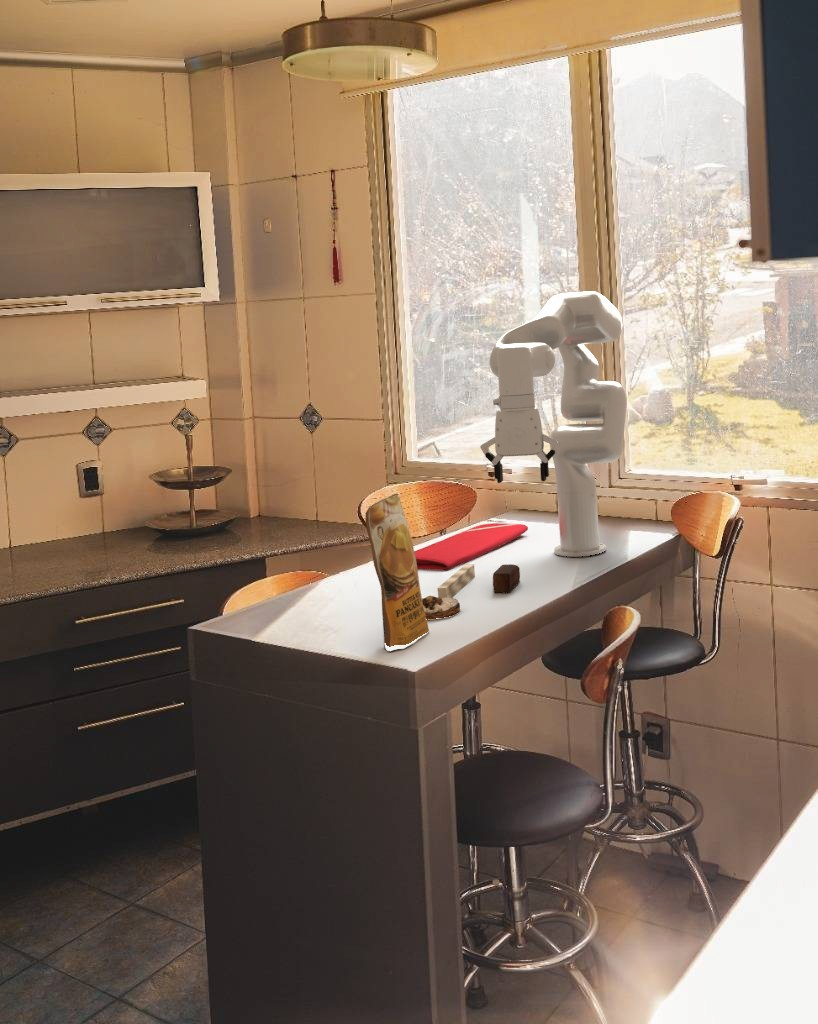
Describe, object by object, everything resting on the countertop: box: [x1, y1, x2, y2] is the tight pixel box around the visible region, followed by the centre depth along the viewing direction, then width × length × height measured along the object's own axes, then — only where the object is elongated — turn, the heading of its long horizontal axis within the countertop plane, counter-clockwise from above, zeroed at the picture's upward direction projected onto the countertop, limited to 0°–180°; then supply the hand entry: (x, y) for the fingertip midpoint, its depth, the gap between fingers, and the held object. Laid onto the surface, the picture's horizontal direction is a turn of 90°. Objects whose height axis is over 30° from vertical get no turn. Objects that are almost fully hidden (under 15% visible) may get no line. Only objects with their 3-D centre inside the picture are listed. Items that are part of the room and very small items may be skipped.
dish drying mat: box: [414, 522, 529, 571], centre depth 310 cm, size 16×41×4 cm, turn 146°
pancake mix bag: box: [365, 493, 430, 647], centre depth 231 cm, size 7×19×28 cm, turn 155°
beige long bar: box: [437, 563, 476, 598], centre depth 270 cm, size 22×2×3 cm, turn 161°
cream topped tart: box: [422, 595, 461, 621], centre depth 252 cm, size 15×15×4 cm
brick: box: [492, 563, 521, 594], centre depth 268 cm, size 11×4×5 cm, turn 163°
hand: (521, 481), depth 263 cm, fingers open, 9 cm apart
